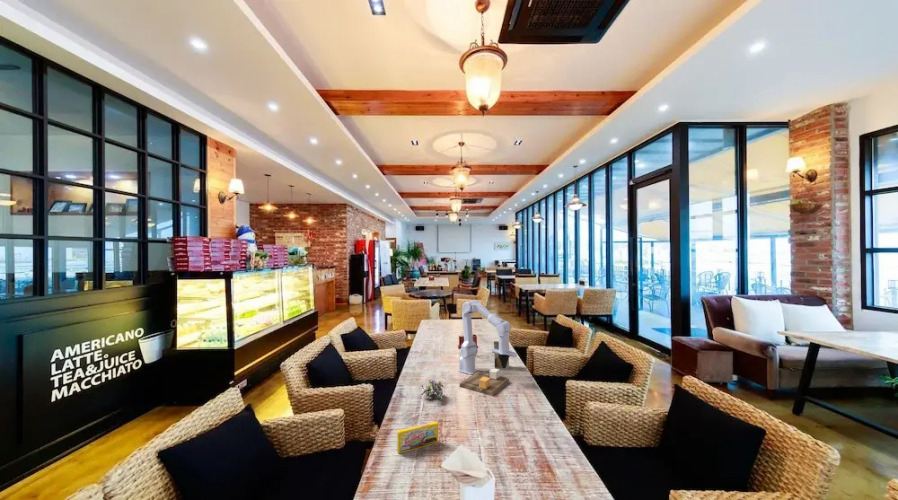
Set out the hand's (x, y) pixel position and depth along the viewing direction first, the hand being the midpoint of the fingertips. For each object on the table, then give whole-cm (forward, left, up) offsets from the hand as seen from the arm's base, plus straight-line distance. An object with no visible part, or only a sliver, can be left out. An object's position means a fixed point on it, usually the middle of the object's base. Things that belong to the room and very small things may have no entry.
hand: (504, 367), depth 183 cm
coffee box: (-12, +21, -9) cm, 26 cm away
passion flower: (-23, -36, -9) cm, 44 cm away
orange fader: (-5, -14, -7) cm, 16 cm away
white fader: (-6, 0, -7) cm, 9 cm away
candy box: (-3, -71, -9) cm, 72 cm away
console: (-9, -6, -9) cm, 14 cm away
